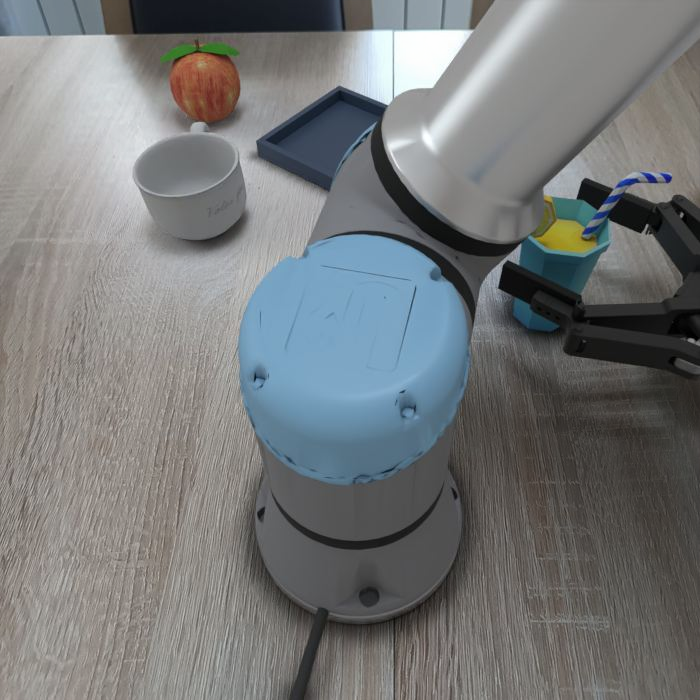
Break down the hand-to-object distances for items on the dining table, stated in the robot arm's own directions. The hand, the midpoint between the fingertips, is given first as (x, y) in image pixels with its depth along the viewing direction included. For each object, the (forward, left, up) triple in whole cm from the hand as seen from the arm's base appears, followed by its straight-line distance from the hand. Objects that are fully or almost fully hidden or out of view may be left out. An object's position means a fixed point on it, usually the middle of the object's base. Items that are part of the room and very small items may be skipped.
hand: (542, 230), depth 57 cm
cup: (0, -3, -9) cm, 9 cm away
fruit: (+4, +48, -9) cm, 49 cm away
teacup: (-10, +34, -9) cm, 37 cm away
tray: (+9, +28, -8) cm, 31 cm away
